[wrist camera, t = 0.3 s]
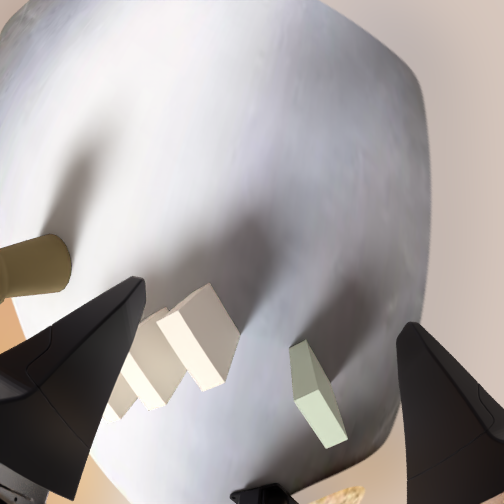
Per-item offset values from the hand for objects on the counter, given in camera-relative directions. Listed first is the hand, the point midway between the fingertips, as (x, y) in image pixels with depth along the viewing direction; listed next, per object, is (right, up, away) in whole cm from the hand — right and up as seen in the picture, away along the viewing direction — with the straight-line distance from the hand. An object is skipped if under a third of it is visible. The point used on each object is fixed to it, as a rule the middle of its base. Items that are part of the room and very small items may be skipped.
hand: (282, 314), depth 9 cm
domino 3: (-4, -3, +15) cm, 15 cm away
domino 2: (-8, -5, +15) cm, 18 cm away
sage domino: (+4, -8, +14) cm, 17 cm away
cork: (-21, +1, +16) cm, 27 cm away
